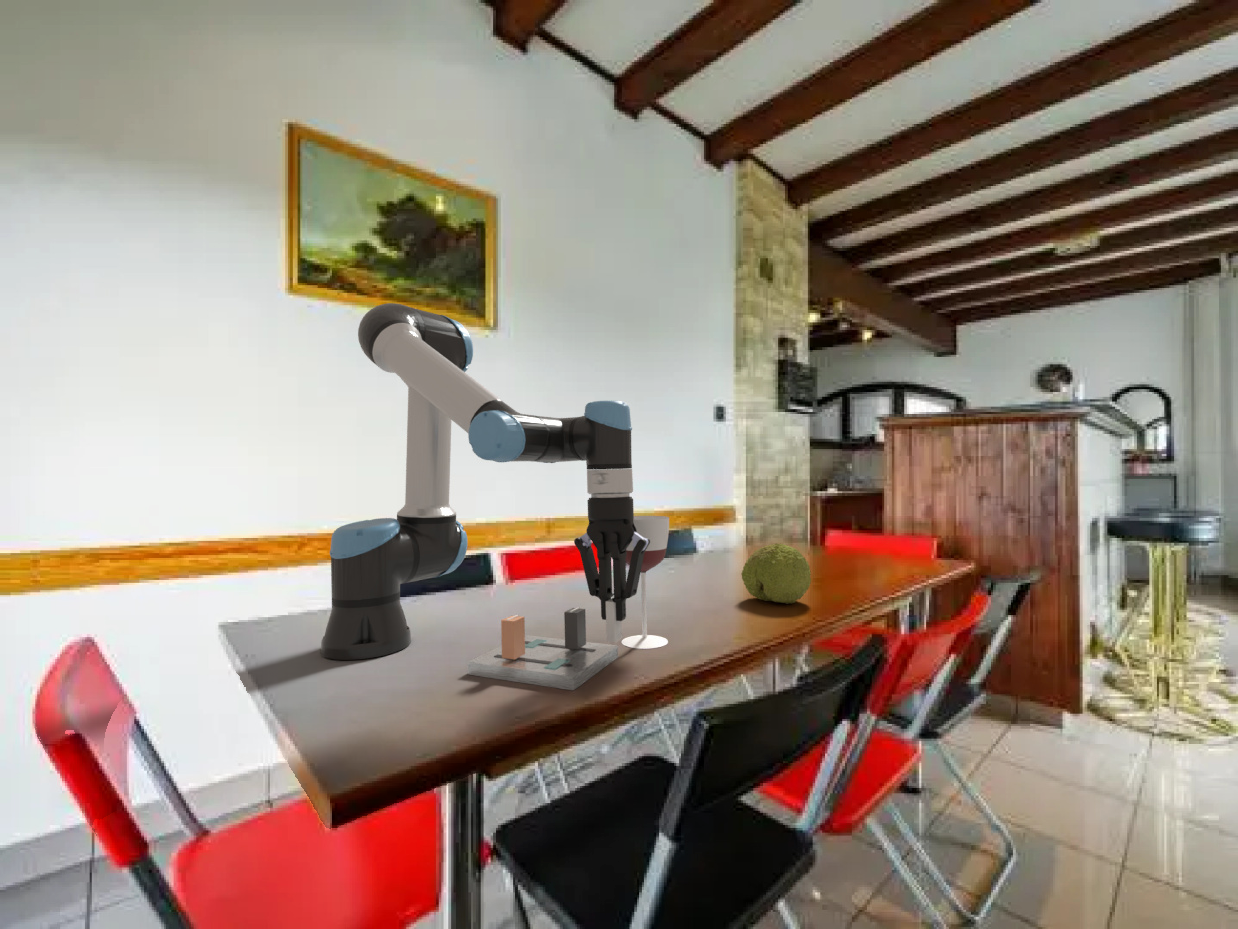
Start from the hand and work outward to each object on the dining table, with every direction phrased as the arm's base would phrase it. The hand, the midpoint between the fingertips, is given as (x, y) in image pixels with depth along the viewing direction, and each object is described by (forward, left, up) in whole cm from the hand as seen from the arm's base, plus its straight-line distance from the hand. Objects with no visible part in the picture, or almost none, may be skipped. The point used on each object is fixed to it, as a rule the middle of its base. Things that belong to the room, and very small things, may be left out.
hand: (614, 639), depth 94 cm
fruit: (+18, +55, -4) cm, 58 cm away
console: (-11, -4, -4) cm, 12 cm away
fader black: (-7, 0, -2) cm, 7 cm away
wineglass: (0, +14, -4) cm, 15 cm away
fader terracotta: (-14, -8, -2) cm, 16 cm away
